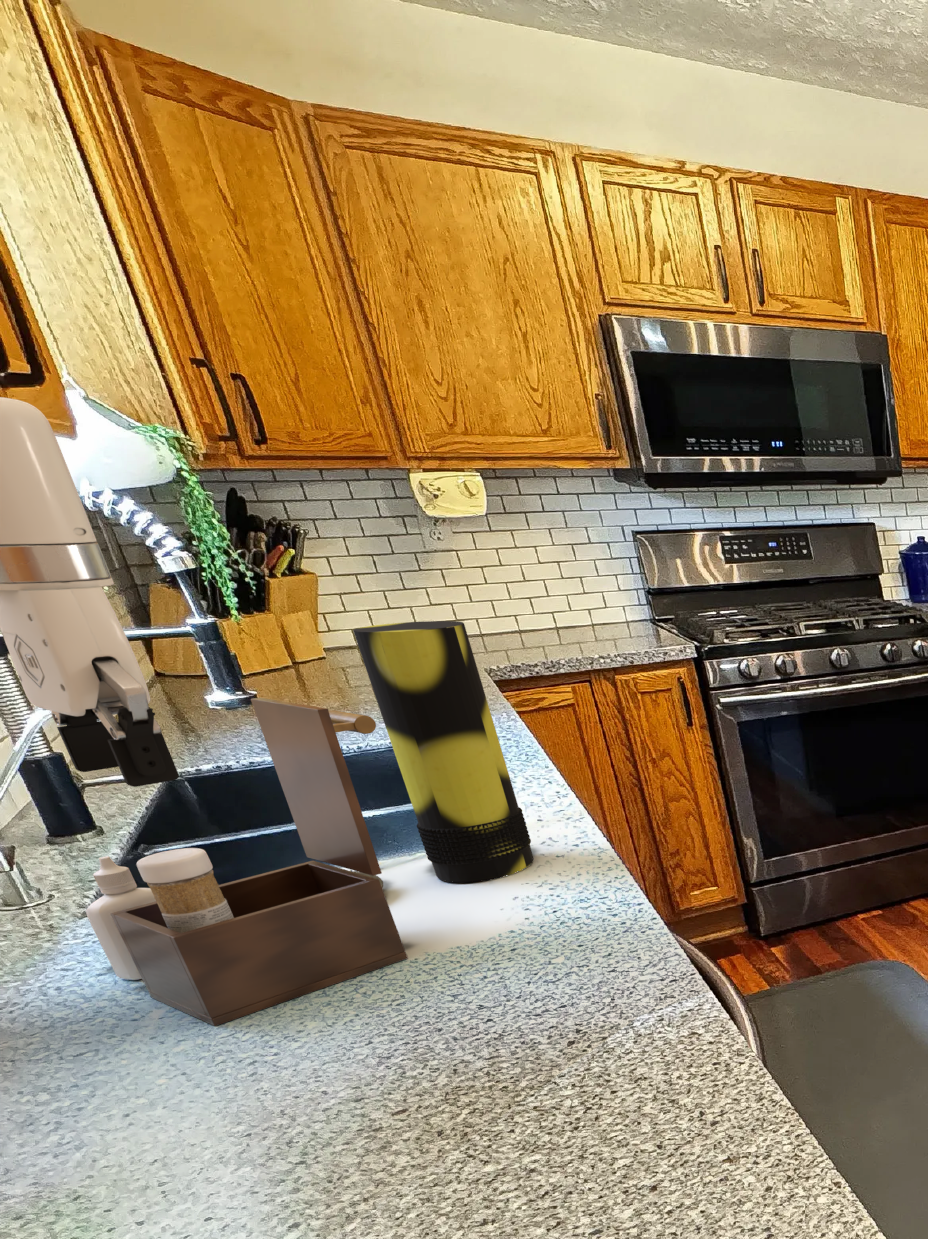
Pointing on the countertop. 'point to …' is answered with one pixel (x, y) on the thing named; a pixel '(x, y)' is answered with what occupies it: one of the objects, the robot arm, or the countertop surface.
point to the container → (446, 748)
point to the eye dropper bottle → (116, 898)
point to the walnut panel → (319, 780)
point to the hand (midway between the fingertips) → (128, 775)
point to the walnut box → (265, 942)
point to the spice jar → (185, 888)
